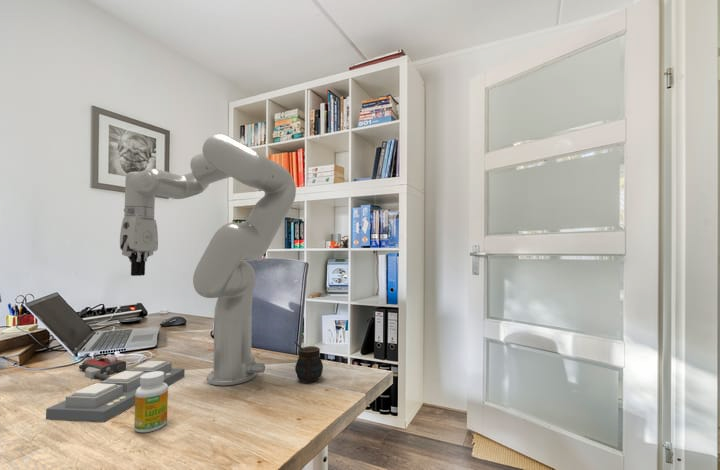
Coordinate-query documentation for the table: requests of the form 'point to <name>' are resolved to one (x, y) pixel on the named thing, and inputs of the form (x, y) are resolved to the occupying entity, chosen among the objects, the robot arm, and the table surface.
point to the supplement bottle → (151, 402)
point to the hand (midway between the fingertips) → (137, 275)
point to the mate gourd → (309, 364)
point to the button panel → (107, 399)
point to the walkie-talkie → (102, 366)
